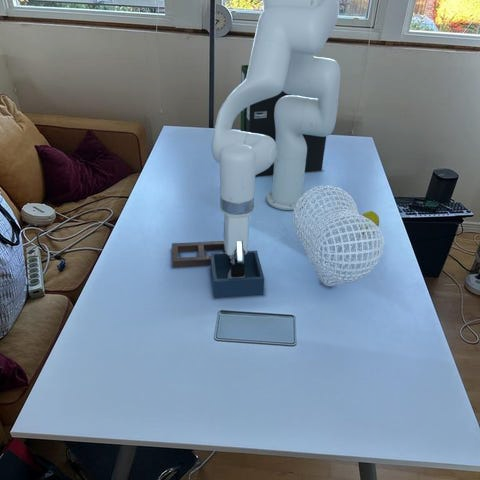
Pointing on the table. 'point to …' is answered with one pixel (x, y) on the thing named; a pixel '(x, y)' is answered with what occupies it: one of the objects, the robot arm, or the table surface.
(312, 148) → the binder
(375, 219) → the lemon
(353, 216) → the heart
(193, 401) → the table surface
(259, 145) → the robot arm
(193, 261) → the stand
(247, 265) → the blue open box
